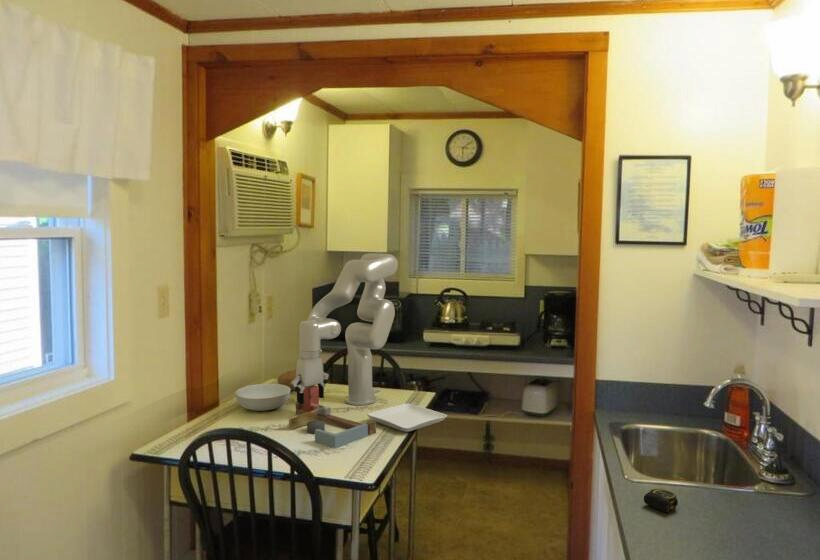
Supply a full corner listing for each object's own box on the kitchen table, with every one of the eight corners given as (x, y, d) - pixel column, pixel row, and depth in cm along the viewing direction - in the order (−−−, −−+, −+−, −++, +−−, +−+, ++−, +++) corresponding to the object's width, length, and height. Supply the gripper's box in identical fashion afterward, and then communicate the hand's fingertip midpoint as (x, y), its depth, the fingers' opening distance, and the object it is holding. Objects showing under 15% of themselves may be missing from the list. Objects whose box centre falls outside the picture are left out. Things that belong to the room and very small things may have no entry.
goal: (347, 430, 219) (347, 418, 219) (367, 436, 213) (367, 424, 213) (314, 441, 207) (314, 429, 207) (335, 448, 201) (335, 436, 201)
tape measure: (641, 506, 161) (642, 492, 160) (658, 499, 164) (658, 485, 164) (666, 516, 155) (666, 501, 155) (682, 509, 159) (683, 495, 158)
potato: (271, 391, 269) (271, 372, 269) (295, 384, 281) (295, 366, 280) (287, 395, 264) (287, 376, 263) (311, 387, 275) (311, 369, 274)
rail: (301, 411, 240) (301, 401, 240) (375, 433, 216) (375, 421, 216) (295, 413, 238) (295, 403, 237) (369, 435, 214) (369, 423, 213)
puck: (316, 427, 222) (316, 419, 222) (328, 431, 219) (328, 422, 218) (303, 431, 218) (303, 423, 218) (315, 435, 214) (315, 427, 214)
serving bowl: (224, 412, 240) (223, 394, 240) (257, 398, 260) (256, 381, 259) (270, 418, 233) (270, 400, 232) (301, 403, 252) (300, 386, 251)
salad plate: (449, 423, 228) (449, 414, 227) (406, 437, 213) (406, 427, 212) (407, 410, 243) (407, 402, 242) (365, 423, 228) (365, 413, 228)
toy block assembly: (311, 413, 237) (311, 384, 236) (332, 418, 230) (331, 389, 229) (275, 424, 224) (274, 394, 223) (295, 430, 217) (295, 399, 216)
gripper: (320, 349, 241) (321, 394, 243) (284, 356, 228) (285, 403, 230) (334, 352, 237) (334, 397, 238) (298, 359, 223) (299, 407, 225)
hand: (310, 400), depth 234 cm, fingers open, 9 cm apart
